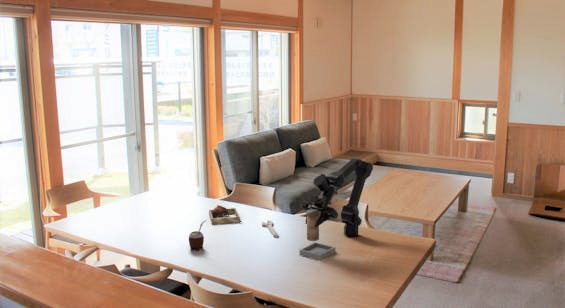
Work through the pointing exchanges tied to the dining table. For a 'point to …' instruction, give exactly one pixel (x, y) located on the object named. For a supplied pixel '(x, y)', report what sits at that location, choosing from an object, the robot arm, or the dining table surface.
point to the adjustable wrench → (270, 228)
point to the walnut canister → (312, 225)
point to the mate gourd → (196, 239)
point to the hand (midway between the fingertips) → (311, 225)
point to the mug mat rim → (226, 219)
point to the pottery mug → (219, 212)
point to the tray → (317, 251)
